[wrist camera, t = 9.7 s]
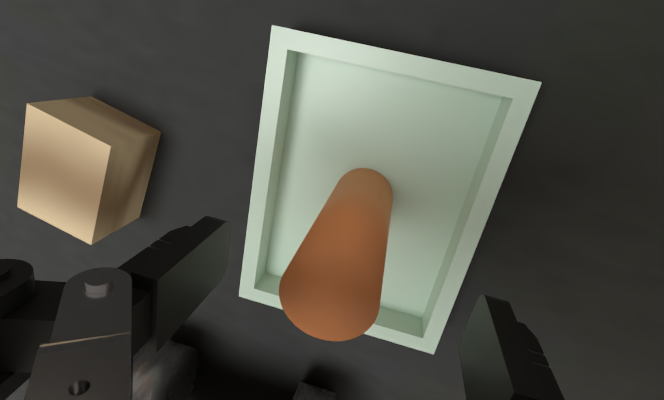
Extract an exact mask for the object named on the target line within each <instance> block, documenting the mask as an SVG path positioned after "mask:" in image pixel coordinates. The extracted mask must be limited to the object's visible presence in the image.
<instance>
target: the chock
mask: <svg viewBox="0 0 664 400" xmlns="http://www.w3.org/2000/svg"><path fill="white" fill-rule="evenodd" d="M160 135H161V132H160V131H158V130H157V129H155V128H153V127H151V126H149V125H147V124H145V123H143V122H141V121H139V120H137V119H135V118H133V117H131V116H129V115H127V114H125V113H123V112H121V111H119V110H117V109H115V108H113V107H111V106H109V105H107V104H105V103H103V102H102V101H100V100H98V99H96V98H94V97H92V96H90V97H81V98H72V99H63V100H54V101H45V102H36V103H27V109H26V119H25V130H24V141H23V152H22V162H21V173H20V184H19V195H18V205H17V207H18V208H20V209H22V210H24V211H26V212H28V213H30V214H32V215H34V216H36V217H38V218H40V219H42V220H44V221H46V222H48V223H49V224H51V225H53V226H55V227H57V228H59V229H61V230H63V231H65V232H67V233H69V234H71V235H73V236H75V237H77V238H79V239H80V240H82V241H84V242H86V243H88V244H90V245H92V244H94V243H96V242H97V241H99V240H101V239H103V238H104V237H106V236H108V235H109V234H111V233H113V232H115V231H116V230H118V229H120V228H122V227H123V226H125V225H127V224H129V223H130V222H132V221H134V220H135V219H137V218H139V217H140V213H141V209H142V205H143V201H144V197H145V193H146V190H147V186H148V182H149V178H150V174H151V170H152V166H153V162H154V158H155V155H156V151H157V147H158V143H159V139H160Z"/></svg>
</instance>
